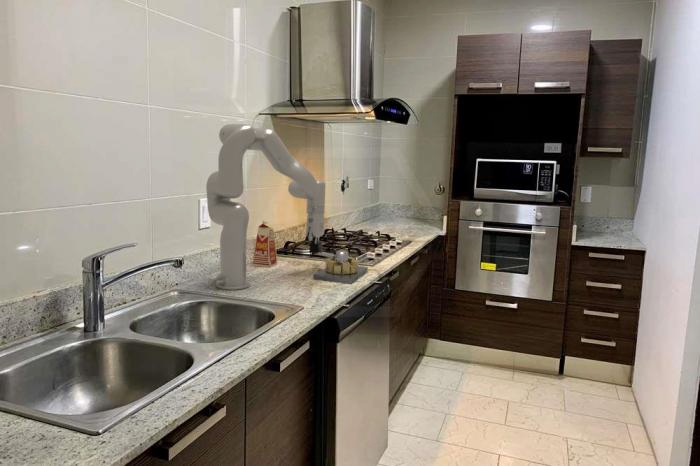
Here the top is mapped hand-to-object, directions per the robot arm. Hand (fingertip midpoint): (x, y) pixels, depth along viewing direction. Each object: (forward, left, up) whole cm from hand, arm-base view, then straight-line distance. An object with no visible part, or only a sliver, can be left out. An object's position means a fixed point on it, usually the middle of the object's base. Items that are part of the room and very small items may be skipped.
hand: (313, 252), depth 221 cm
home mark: (+4, -1, -8) cm, 9 cm away
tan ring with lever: (+4, -8, -6) cm, 11 cm away
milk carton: (-9, +22, -8) cm, 25 cm away
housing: (+4, -13, -8) cm, 16 cm away
